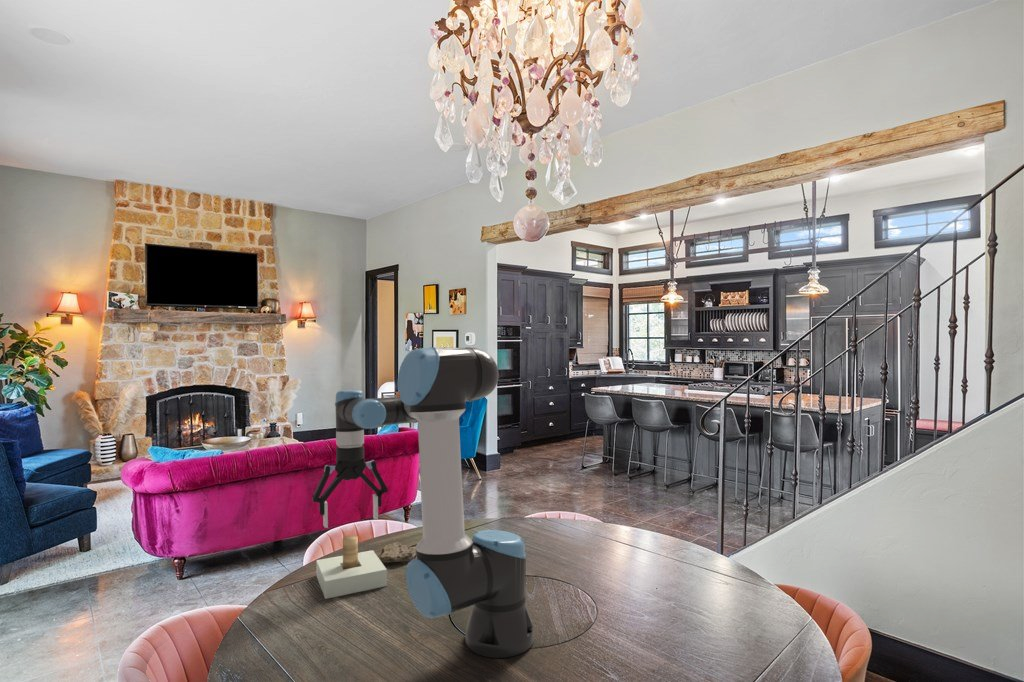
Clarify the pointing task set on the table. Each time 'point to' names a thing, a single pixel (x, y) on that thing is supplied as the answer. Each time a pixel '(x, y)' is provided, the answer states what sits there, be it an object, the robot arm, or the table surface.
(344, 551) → the dowel
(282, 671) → the table surface
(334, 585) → the socket block
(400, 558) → the rock
